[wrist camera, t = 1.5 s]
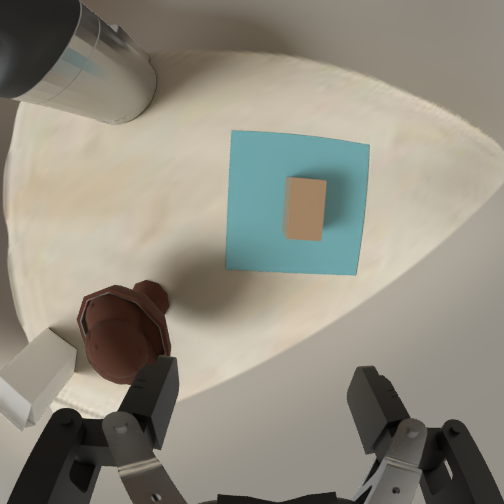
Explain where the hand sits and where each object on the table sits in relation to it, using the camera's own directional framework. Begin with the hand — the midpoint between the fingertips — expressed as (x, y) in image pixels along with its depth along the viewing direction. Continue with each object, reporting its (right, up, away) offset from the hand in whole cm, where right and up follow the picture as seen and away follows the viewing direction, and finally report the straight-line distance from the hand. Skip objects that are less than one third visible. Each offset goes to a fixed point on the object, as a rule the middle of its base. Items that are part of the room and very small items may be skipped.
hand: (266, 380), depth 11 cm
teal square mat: (+5, +11, +20) cm, 23 cm away
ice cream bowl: (-14, -1, +23) cm, 27 cm away
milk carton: (-35, -12, +26) cm, 45 cm away
